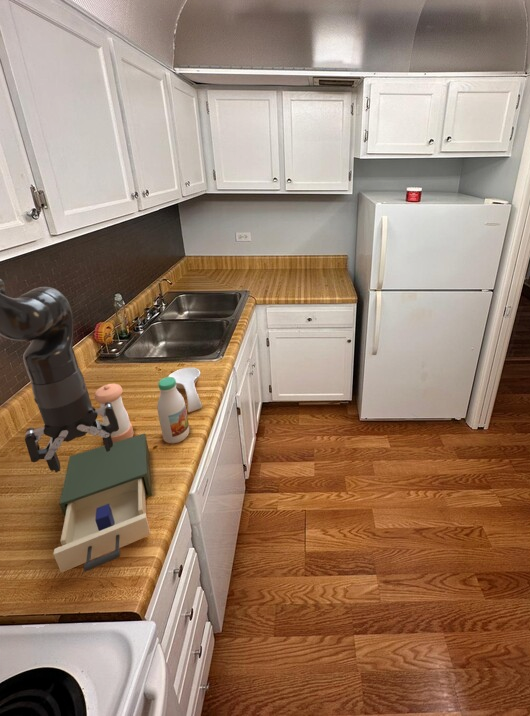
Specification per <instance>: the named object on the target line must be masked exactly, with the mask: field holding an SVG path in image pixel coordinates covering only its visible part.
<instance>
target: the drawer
mask: <svg viewBox="0 0 530 716" xmlns="http://www.w3.org/2000/svg"><path fill="white" fill-rule="evenodd" d="M146 501H147V500H146V498H145V484H144V480H143V477H142V478H139V479H136V480H133V481H130V482H128V483H125V484H122V485H119V486H116V487H113V488H111V489H108V490H105V491H102V492H99V493H96V494H94V495H91V496H88V497H85V498H82V499H79V500H77V501H74V502H71V503H68V505H67V510H66V516H65V517H64V520H63V521H64V522H63V527H62V531H61V535H60V541H59V542H60V544H61V546H58V547H55V548H54V550H53V557H54V560H55V561H56V564H57V566H58V568H59V571H60V573H61V574H62V573H64V572H67V571H69V570H71V569H74V568H76V567H78V566H80V565H83V572H84V573H87V572H89V571H92V570H93V569H96V568H98V567H101V566H103V565H105V564H107V563H110V562H112V561H114V560H117V559H119V558H120V557H121V548H123V547H125V546H128V545H130V544H133V543H135V542H138V541H139V540H142V539H144V538H147V537H150V536H151V528H150V524H149V519H148V516H147V503H146ZM107 504H109V505H110V506H111V509H112V515H113V518H114V521H115V525H113V526H111V527H108V528H106V529H103V530H101V531H99V530H98V527H97V524H96V521H95V518H96V509H97V508H99V507H101V506H104V505H107Z"/></svg>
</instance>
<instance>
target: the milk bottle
mask: <svg viewBox="0 0 530 716" xmlns="http://www.w3.org/2000/svg"><path fill="white" fill-rule="evenodd" d="M157 384H158V385H157V386H158V389H159V393H160V394H159V398H158V400H157V416H158V421H159V425H160V431H161V436H162V439H163V441H164V442H165V443H168V444H179V443H181V442H182V441H184V440H185V439H186V438H187V437H188V436H189V433H190V424H189V417H188V410H187V407H186V406H187V405H186V402H185V399H184V396H183V395H182V393H181V392H180V391H179V390H178V388H176V380H175V378H173V377H168V376H166V377H163V378H161V379H159V381H158V383H157Z"/></svg>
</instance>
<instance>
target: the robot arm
mask: <svg viewBox="0 0 530 716" xmlns="http://www.w3.org/2000/svg"><path fill="white" fill-rule="evenodd" d="M6 294H7V285H6V283H5V281H3V280H2V279H1V278H0V337H3V338H5V339H8V340H10V341H11V340H12V341H17V342H30V341H31V342H30V344H29V345H28V346H27V347H26V349H25V351H24V352H23V355H22V360H23V364H24V367H25V370H26V373H27V375H28V378H29V381H30V384H31V390H32V394H33V396H34V398H33V399H34V402H35V404H36V405H37V408H38V410H39V414H40V416H41V419H42V422H43V424H44V426H42V427H38V428H36V429H35V428H34V427H29V428H27V429H26V430H25V436H24V442H25V445H26V448H27V453H28V456H29V458H30V461H31V463H38V462H39V461H40V460H45V461H46V464H47V466H48V469H49V471H51V472H55V473H58V472H60V471H61V461H60V459H59V457H58V454H57V451H58V450H59V448H60V447H61V445H62V444H63V442H66V443H68V442H72V441H73V440H75V439H77V438H82V437H85V436H86V435H87V434H90V435H92V436H94V437H96V436H98V437H101V438H102V442H103V446H105V449H106V452H108V451H110V448H111V447H113V442H112V438H111V433H112V432H116V431H118V430H119V425H118V421H117V418H116V415H115V412H114V410H113V407H112V404H111V403H110V402H107V403H105V405H104V407H99V408H95V407H94V406H93V404H92V400H91V398H90V397H91V396H90V394H89V391H88V388H87V384H86V381H85V377H84V374H83V373H82V371H81V369H80V366H79V363H78V359H77V356H76V353H75V350H74V348H73V347H74V346H73V342H74V341H73V340H74V325H73V324H74V317H73V311H72V306H71V304H70V302H69V300H68V299H67V297H66V296H65V295H64V293H62V292H61V291H59V290H58V289H56V288H53V287H51V286H39V287H35V288H33V289H31V290H29V291H26V292H25V293H23V294H21V295H19V296H17V297H14V298H13V297H10V296H7V295H6ZM99 416H101V418H102V417H105V418H108V420H109V423H110V424H109V425H104V424H103V422H101V421H100V420H98V417H99ZM43 435H45V436H47V437H49V438H50V439H49V442H48V443H47V445H46V447H45V448H41V447H40V444H39V441H41V438H42V436H43Z"/></svg>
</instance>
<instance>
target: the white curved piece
mask: <svg viewBox="0 0 530 716" xmlns="http://www.w3.org/2000/svg"><path fill="white" fill-rule="evenodd" d="M200 376H201V371H200V369H199V368H197V367H192V366H191V367H189V366H188V367H184V368H180V369H177V370H175V371H173V372H171V373H170V374H169V375H168V376H167V377H173V378H175V380H176V389H179V390H184V391H185V394H186V403H187V413H192V412H195V411H198V410H201V409H202V408H203V404H202V401H201V399H200V396H199V394H198V392H197V388H196V383H197V382H198V380H199V379H200Z"/></svg>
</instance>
